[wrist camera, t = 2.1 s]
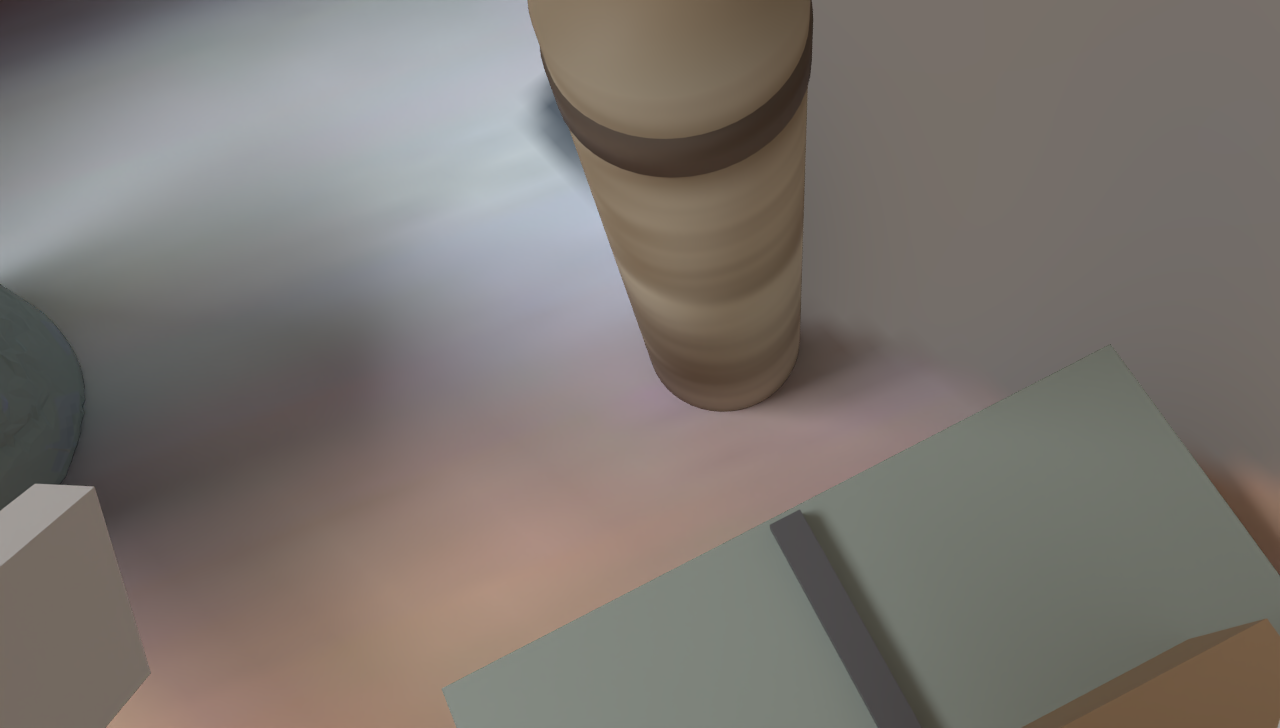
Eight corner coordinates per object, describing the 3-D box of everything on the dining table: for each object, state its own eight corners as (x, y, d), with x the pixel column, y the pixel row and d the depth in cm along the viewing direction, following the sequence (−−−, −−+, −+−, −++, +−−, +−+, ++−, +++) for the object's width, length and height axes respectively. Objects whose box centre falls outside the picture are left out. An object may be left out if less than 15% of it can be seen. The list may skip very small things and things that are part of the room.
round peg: (621, 311, 28) (480, -59, 15) (755, 244, 28) (728, -180, 15) (689, 440, 27) (596, 150, 14) (830, 368, 27) (870, 14, 14)
